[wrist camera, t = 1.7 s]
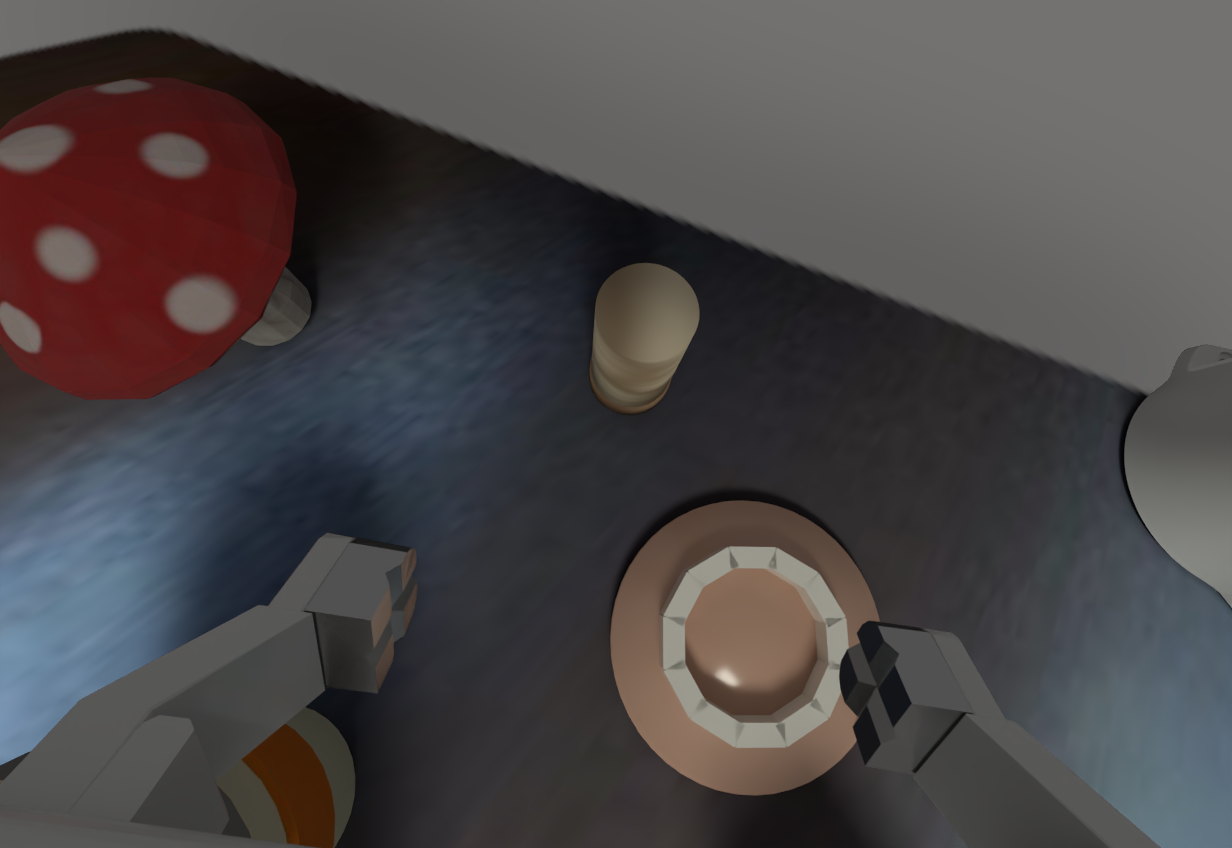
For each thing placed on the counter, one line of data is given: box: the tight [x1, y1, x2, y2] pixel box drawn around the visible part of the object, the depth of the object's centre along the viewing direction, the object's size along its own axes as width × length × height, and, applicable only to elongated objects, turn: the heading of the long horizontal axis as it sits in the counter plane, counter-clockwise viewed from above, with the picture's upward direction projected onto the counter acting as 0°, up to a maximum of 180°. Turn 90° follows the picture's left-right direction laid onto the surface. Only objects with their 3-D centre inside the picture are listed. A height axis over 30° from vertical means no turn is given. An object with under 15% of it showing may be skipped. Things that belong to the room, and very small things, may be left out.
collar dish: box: [610, 500, 880, 796], centre depth 32 cm, size 16×16×2 cm
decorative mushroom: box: [0, 78, 312, 400], centre depth 28 cm, size 16×16×15 cm
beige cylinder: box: [589, 263, 699, 415], centre depth 31 cm, size 5×5×10 cm
